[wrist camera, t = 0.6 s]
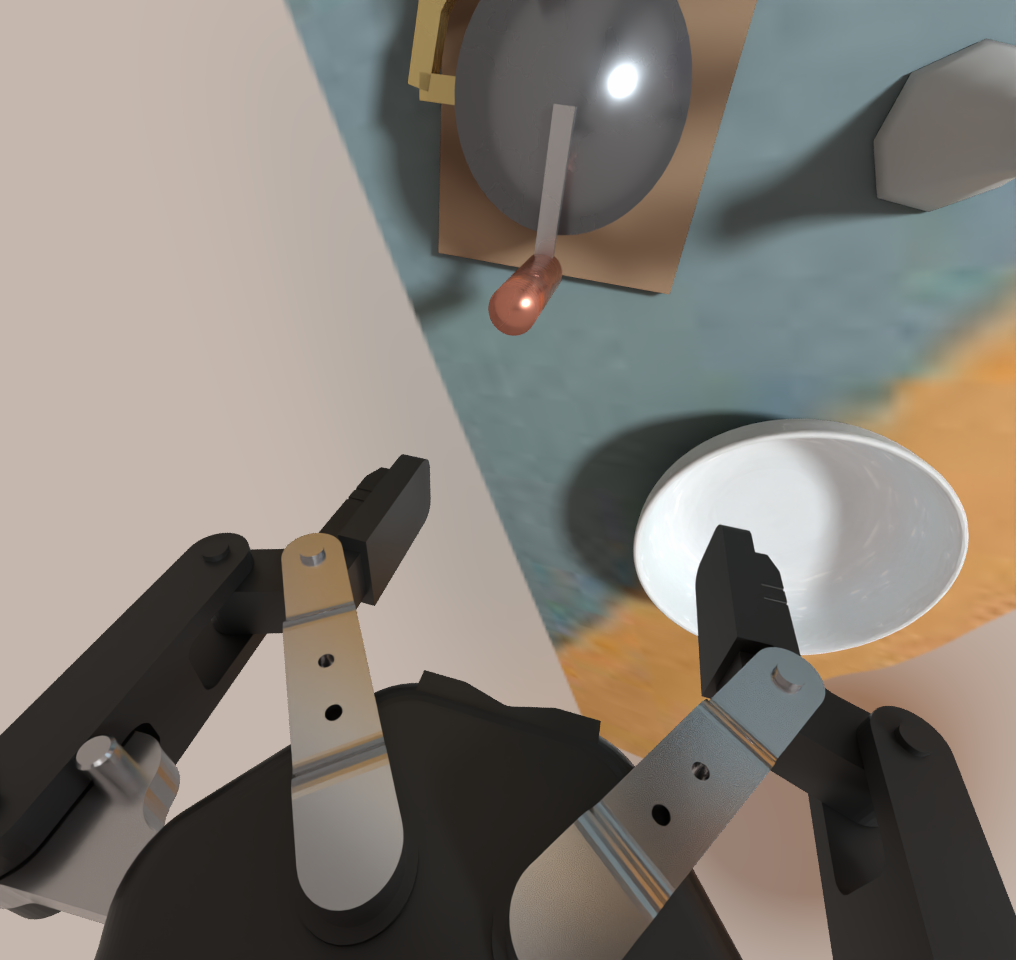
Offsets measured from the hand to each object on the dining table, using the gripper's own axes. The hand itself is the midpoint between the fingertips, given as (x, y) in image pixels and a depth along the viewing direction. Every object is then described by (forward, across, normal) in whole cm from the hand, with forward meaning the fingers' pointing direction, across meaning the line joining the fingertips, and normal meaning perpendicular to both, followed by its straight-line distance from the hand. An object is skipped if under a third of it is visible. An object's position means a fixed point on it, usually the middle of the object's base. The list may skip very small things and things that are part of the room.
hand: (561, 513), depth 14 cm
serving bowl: (+26, -15, +16) cm, 33 cm away
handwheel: (+24, +6, -9) cm, 26 cm away
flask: (+26, -15, -10) cm, 31 cm away
